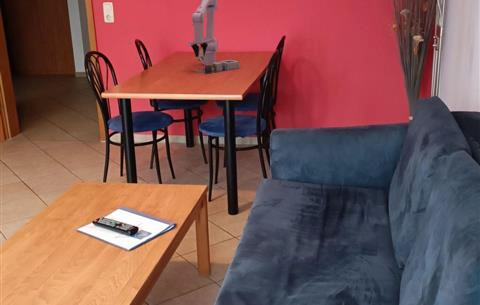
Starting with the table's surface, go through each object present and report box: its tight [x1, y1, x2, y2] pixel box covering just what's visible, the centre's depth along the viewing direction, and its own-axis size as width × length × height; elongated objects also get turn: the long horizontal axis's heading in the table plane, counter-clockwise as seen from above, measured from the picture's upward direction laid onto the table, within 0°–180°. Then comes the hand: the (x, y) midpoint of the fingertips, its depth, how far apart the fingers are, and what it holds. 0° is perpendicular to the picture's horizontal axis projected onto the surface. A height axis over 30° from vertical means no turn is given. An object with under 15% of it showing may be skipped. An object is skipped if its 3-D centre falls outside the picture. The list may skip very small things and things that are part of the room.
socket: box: [218, 59, 240, 71], centre depth 353 cm, size 9×9×4 cm
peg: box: [196, 45, 204, 62], centre depth 346 cm, size 4×4×8 cm
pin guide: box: [211, 61, 223, 71], centre depth 348 cm, size 6×4×4 cm
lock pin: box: [204, 65, 216, 72], centre depth 347 cm, size 3×11×4 cm, turn 127°
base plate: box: [192, 67, 242, 75], centre depth 351 cm, size 16×26×1 cm, turn 127°
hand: (200, 56), depth 346 cm, fingers closed on peg, 4 cm apart
